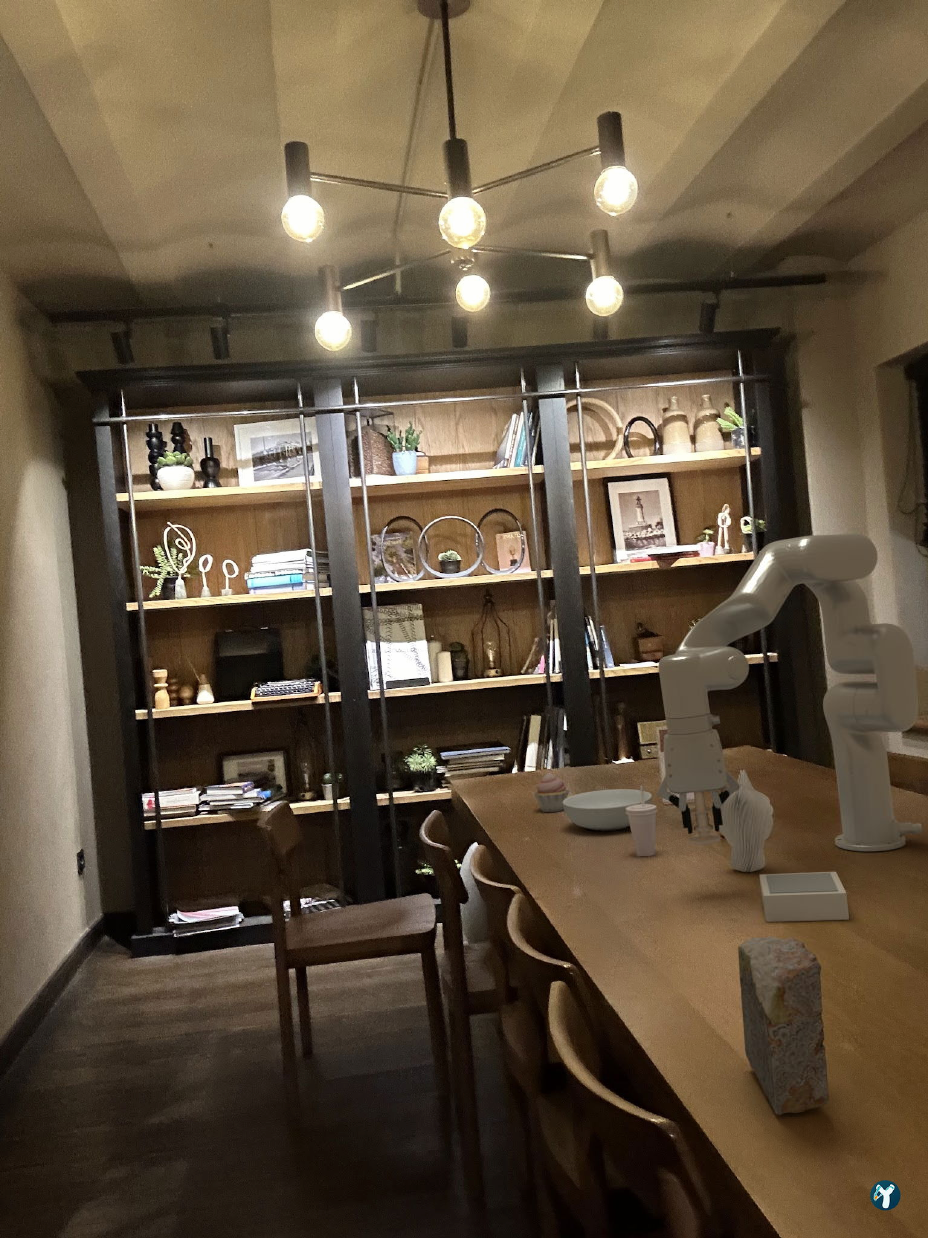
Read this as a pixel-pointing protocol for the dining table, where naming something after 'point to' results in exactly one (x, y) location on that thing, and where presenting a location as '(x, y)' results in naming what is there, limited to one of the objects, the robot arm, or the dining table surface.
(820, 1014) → the geological specimen
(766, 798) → the shell sculpture
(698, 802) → the candle
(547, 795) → the cupcake
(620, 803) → the serving bowl
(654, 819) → the smoothie
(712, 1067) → the dining table surface
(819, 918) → the plinth
